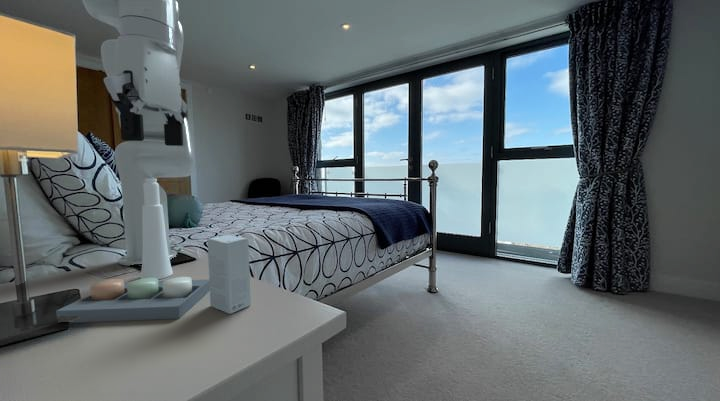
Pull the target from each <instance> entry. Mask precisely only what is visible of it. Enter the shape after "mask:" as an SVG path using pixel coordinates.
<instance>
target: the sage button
mask: <svg viewBox="0 0 720 401" xmlns="http://www.w3.org/2000/svg"><path fill="white" fill-rule="evenodd" d="M158 281H159V280H158V279H157V278H143V279H140V278H138V279H135V280H132V281H129V282H130V283H128V284H127V294H128V300H137V299H151V297H154V296H155V295H157V294H158V293H159V288H158Z"/></svg>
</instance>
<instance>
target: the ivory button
mask: <svg viewBox="0 0 720 401" xmlns="http://www.w3.org/2000/svg"><path fill="white" fill-rule="evenodd" d="M192 280H193V279H192V277H190V276H177V277H173V278H169V279H167V280H163V281H164V282H163V283H162V285H163V298H164V299H165V298H186V296H188V295H190V294H191V293H192Z"/></svg>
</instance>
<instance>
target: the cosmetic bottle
mask: <svg viewBox="0 0 720 401" xmlns="http://www.w3.org/2000/svg"><path fill="white" fill-rule="evenodd" d="M157 181H158V178H154V179H145V182H146V183H144V184H143V186H144V201H145V205H144V206H143V207H142V227H143V257H142V265H141V269H140V276H139V279H143V278H157V279H158V281H160V280H163V279H166V278H169V277H171V276H172V275H173V274H174V273H173V269H172V265H171V259H169V254H168V247H167V240H166V231H165V222H164V214H163V207H162V205H160V196H159V185H160V183H158V182H157Z"/></svg>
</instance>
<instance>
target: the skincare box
mask: <svg viewBox="0 0 720 401" xmlns="http://www.w3.org/2000/svg"><path fill="white" fill-rule="evenodd" d="M249 251H250V250H249V238H247V237H240V236H235V235H231V234H228V235H227V234H226V235H221V236H216V237H210V238H207V257H208V258H207V259H208V260H207V263H208V280H209V284H210V291H209V301H210V306H211V307H212V308H215V309H217V310H220V311H222V312H224V313H226V314H228V315H231V314H234V313H236V312H238V311H240V310H243V309H245V308H248V307H250V306H251V304H252V300H251V298H252V297H251V278H250V277H251V276H250V271H251V270H250V252H249Z"/></svg>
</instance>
